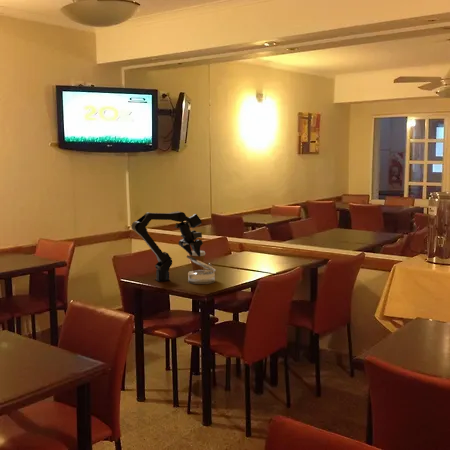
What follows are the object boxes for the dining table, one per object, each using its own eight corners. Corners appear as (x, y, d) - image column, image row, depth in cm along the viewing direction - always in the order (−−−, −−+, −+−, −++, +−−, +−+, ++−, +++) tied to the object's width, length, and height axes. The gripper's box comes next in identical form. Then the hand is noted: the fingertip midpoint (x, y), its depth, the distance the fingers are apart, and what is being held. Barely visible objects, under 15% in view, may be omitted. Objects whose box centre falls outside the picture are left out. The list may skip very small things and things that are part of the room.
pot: (196, 285, 318) (196, 276, 318) (182, 280, 331) (182, 271, 331) (220, 282, 327) (220, 273, 326) (205, 277, 340) (205, 269, 339)
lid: (195, 259, 317) (197, 254, 317) (182, 255, 329) (184, 251, 329) (219, 273, 326) (222, 268, 327) (205, 268, 339) (207, 264, 339)
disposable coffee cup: (187, 271, 358) (187, 251, 357) (195, 268, 367) (195, 249, 365) (200, 272, 354) (200, 253, 352) (208, 269, 362) (208, 250, 361)
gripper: (205, 226, 330) (214, 250, 335) (188, 224, 346) (198, 248, 350) (189, 235, 325) (199, 259, 329) (173, 233, 341) (183, 256, 345)
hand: (195, 255), depth 339 cm, fingers open, 9 cm apart
